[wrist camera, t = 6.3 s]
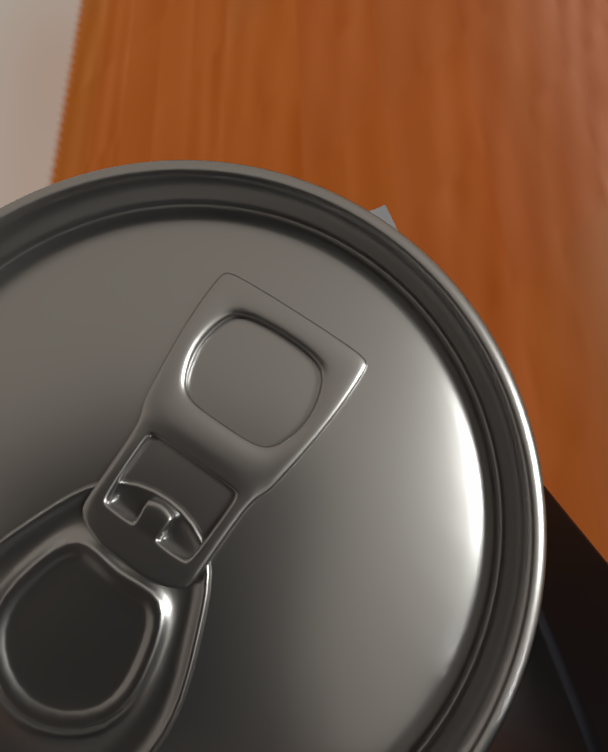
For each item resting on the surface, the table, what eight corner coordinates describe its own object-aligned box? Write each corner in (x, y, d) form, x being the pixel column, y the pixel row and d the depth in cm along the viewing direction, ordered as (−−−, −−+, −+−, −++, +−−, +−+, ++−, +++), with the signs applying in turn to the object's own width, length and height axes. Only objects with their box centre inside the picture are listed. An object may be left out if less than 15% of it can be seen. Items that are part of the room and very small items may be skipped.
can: (125, 515, 15) (-472, 630, 4) (249, 339, 16) (90, -10, 5) (306, 647, 15) (279, 1323, 3) (425, 454, 16) (763, 378, 4)
